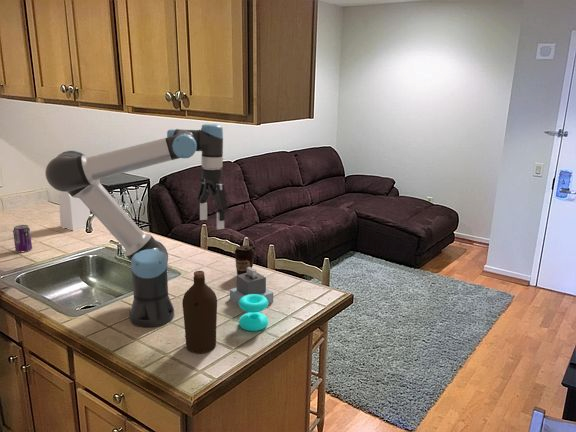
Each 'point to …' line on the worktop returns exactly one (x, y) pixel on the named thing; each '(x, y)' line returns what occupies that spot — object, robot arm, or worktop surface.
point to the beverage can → (22, 238)
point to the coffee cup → (244, 258)
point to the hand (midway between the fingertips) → (211, 224)
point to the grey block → (251, 284)
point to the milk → (72, 212)
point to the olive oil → (200, 316)
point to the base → (237, 295)
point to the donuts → (253, 312)
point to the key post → (251, 273)
